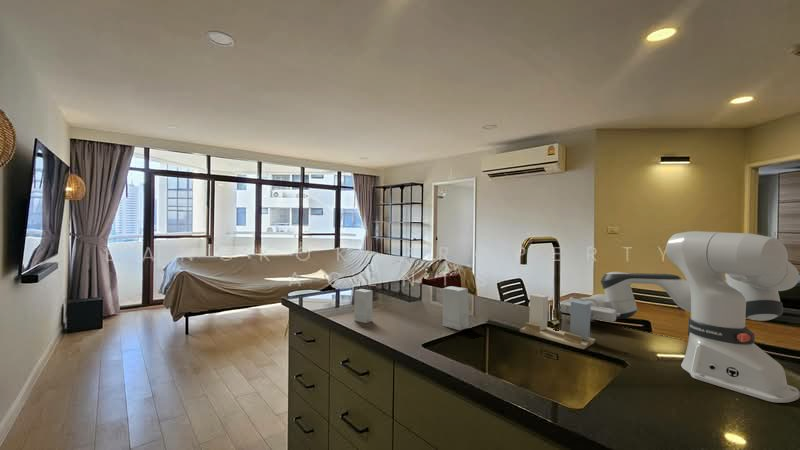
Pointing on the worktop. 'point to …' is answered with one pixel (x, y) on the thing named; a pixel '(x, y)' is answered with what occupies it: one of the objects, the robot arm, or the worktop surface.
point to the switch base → (557, 336)
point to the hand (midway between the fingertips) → (580, 314)
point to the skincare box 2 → (455, 307)
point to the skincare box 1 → (363, 305)
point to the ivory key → (538, 310)
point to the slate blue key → (580, 319)
